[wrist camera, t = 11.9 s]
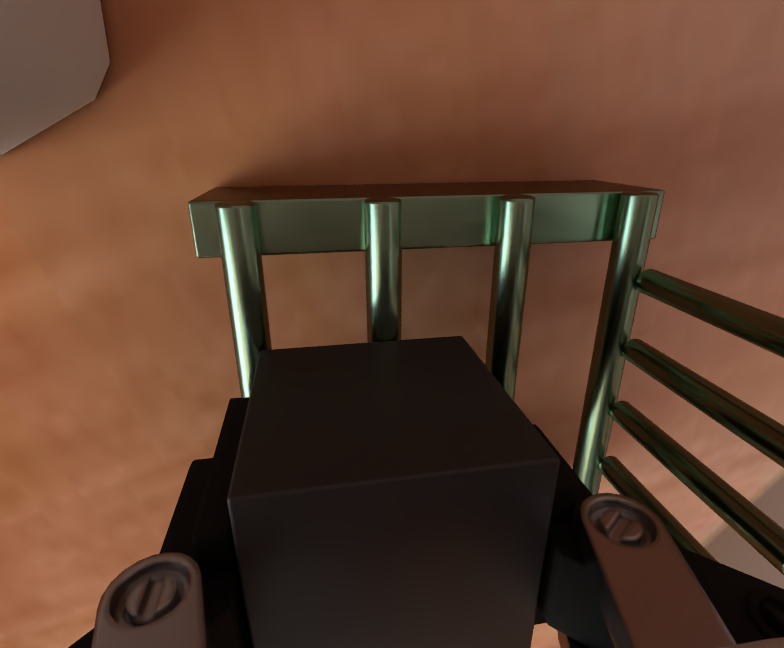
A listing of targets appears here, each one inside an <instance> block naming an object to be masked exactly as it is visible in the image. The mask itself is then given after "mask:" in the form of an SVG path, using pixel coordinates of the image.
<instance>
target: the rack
mask: <svg viewBox="0 0 784 648" xmlns="http://www.w3.org/2000/svg"><path fill="white" fill-rule="evenodd" d="M663 198H664V191H663V190H660V189H653V188H646V187H639V186H632V185H625V184H618V183H611V182H604V181H597V180H573V181H521V182H469V183H416V184H364V185H312V186H260V187H215V188H213V189H211V190H209V191H208V192H206V193H204V194H202V195H200V196H198V197H197V198H195V199H193V200H191V201H189V202H188V207H189V213H190V219H191V226H192V232H193V238H194V244H195V250H196V255H197V257H198V258H211V257H221V259H222V266H223V273H224V280H225V287H226V294H227V301H228V308H229V315H230V321H231V328H232V335H233V342H234V349H235V356H236V363H237V370H238V377H239V384H240V391H241V398H244V397H250V393H251V388H252V384H253V379H254V375H255V370H256V366H257V361H258V356H259V353H260V351H262V350H272V347H271V338H270V329H269V320H268V311H267V302H266V293H265V283H264V274H263V265H262V256H261V255H283V254H306V253H330V252H354V251H365V262H366V302H367V342H368V343H371V342H385V341H398V340H401V296H402V249H426V248H449V247H473V246H495V250H494V262H493V275H492V287H491V300H490V312H489V324H488V337H487V349H486V362H485V366H486V367H487V368H488V369H489V371H490V372H491V373H492V374H493V376H494V377H495V378H496V379H497V381H498V382H499V383H500V384H501V386H502V387H503V388H504V389H505V391H506V392H507V393H508V394H509V396H510V397H511V398H512V399H513V401H514V395H515V386H516V377H517V368H518V358H519V349H520V340H521V331H522V322H523V313H524V304H525V295H526V286H527V276H528V267H529V258H530V249H531V244H545V243H569V242H592V241H612V246H611V252H610V257H609V263H608V269H607V274H606V280H605V286H604V291H603V297H602V303H601V309H600V314H599V320H598V326H597V331H596V337H595V343H594V348H593V354H592V360H591V366H590V371H589V377H588V383H587V388H586V394H585V400H584V405H583V411H582V417H581V423H580V428H579V434H578V440H577V445H576V451H575V457H574V462H573V468H572V470H573V471H574V472H575V473H576V475H577V476H578V477H579V478H580V480H581V481H582V482H583V483H584V485H585V486H586V487H587V488H588V490H589V491H590V492H591V493H592V495H595V494H598V491H599V486H600V481H601V476H602V474H603V475H604V477H605V478H606V479H607V480H608V481H609V482H610V483H611V484H612V486H613V487H614V488H615V489H616V490H617V491H618V492H619V493H620V495H622V496H625V497H628V498H631V499H634V500H636V501H638V502H639V503H641V504H643V505H645V506H646V507H648V508H649V509H650V510H651V511H653V512H654V513H655V514H656V515H657V516H658V517H659V519H660V520H661V521H662V522H663V524H664V525H665V527H666V528H667V530H668V532H669V533H670V535H671V537H672V538H673V540H674V542H675V543H676V545H677V546H679V547H682V548H684V549H687V550H689V551H692V552H694V553H696V554H699V555H701V556H704V557H706V558H709V559H711V560H713V561H716V562H718V561H717V560H715V558H714V557H713V556H712V555H711V554H710V553H709V552H708V551H707V550H706V549H705V548H704V547H703V546H702V545H701V544H700V543H699V542H698V541H697V540H696V539H695V538H694V537H693V536H692V535H691V534H690V533H689V532H688V531H687V530H686V529H685V528H684V527H683V526H682V524H681V523H680V522H679V521H678V520H677V519H676V518H675V517H674V516H673V515H672V514H671V513H670V512H669V511H668V510H667V509H666V508H665V507H664V506H663V505H662V504H661V503H660V502H659V501H658V500H657V499H656V498H655V497H654V496H653V495H652V494H651V493H650V492H649V491H648V490H647V489H646V488H645V486H644V485H643V484H642V483H641V482H640V481H639V480H638V479H637V478H636V477H635V476H634V475H633V474H632V473H631V472H630V471H629V470H628V469H627V468H626V467H625V466H624V465H623V464H622V463H621V462H620V461H619V460H618V459H617V458H616V457H614V456H607V457H606V452H607V447H608V442H609V437H610V433H611V428H612V423H613V420H614V421H616V422H617V423H618V424H619V425H620V426H621V427H622V428H623V429H624V430H625V431H626V432H628V433H629V434H630V435H631V436H632V437H633V438H634V439H635V440H636V441H637V442H639V443H640V444H641V445H642V446H643V447H644V448H645V449H646V450H647V451H648V452H649V453H651V454H652V455H653V456H654V457H655V458H656V459H657V460H658V461H659V462H660V463H662V464H663V465H664V466H665V467H666V468H667V469H668V470H669V471H670V472H671V473H672V474H674V475H675V476H676V477H677V478H678V479H679V480H680V481H681V482H682V483H683V484H685V485H686V486H687V487H688V488H689V489H690V490H691V491H692V492H693V493H694V494H695V495H697V496H698V497H699V498H700V499H701V500H702V501H703V502H704V503H705V504H706V505H708V506H709V507H710V508H711V509H712V510H713V511H714V512H715V513H716V514H717V515H718V516H720V517H721V518H722V519H723V520H724V521H725V522H726V523H727V524H728V525H730V526H731V527H732V528H733V529H734V530H735V531H736V532H737V533H738V534H739V535H740V536H741V537H743V538H744V539H745V540H746V541H747V542H748V543H749V544H750V545H751V546H752V547H754V548H755V549H756V550H757V551H758V552H759V553H760V554H761V555H762V556H763V557H764V558H766V559H767V560H768V561H769V562H770V563H771V564H772V565H773V566H774V567H775V568H777V569H778V570H779V571H780V572H781V573H782V574H783V575H784V529H783V528H781V527H780V526H779V525H778V524H777V523H775V522H774V521H773V520H772V519H770V518H769V517H768V516H767V515H765V514H764V513H763V512H762V511H761V510H759V509H758V508H757V507H756V506H755V505H753V504H752V503H751V502H750V501H748V500H747V499H746V498H745V497H744V496H742V495H741V494H740V493H739V492H737V491H736V490H735V489H734V488H733V487H731V486H730V485H729V484H728V483H726V482H725V481H724V480H723V479H722V478H720V477H719V476H718V475H717V474H715V473H714V472H713V471H712V470H711V469H709V468H708V467H707V466H706V465H704V464H703V463H702V462H701V461H700V460H698V459H697V458H696V457H695V456H693V455H692V454H691V453H690V452H689V451H687V450H686V449H685V448H684V447H682V446H681V445H680V444H679V443H677V442H676V441H675V440H674V439H673V438H671V437H670V436H669V435H668V434H666V433H665V432H664V431H663V430H662V429H660V428H659V427H658V426H657V425H655V424H654V423H653V422H652V421H651V420H649V419H648V418H647V417H646V416H644V415H643V414H642V413H641V412H640V411H638V410H637V409H636V408H635V407H633V406H632V405H631V404H630V403H629V402H627V401H618V402H617V399H618V394H619V389H620V384H621V379H622V374H623V369H624V365H625V360H628V361H629V362H631V363H632V364H634V365H635V366H636V367H638V368H639V369H641V370H642V371H644V372H645V373H647V374H648V375H650V376H651V377H652V378H654V379H655V380H657V381H658V382H660V383H661V384H663V385H664V386H666V387H667V388H668V389H670V390H671V391H673V392H674V393H676V394H677V395H679V396H680V397H681V398H683V399H684V400H686V401H687V402H689V403H690V404H692V405H693V406H695V407H696V408H697V409H699V410H700V411H702V412H703V413H705V414H706V415H708V416H709V417H711V418H712V419H713V420H715V421H716V422H718V423H719V424H721V425H722V426H724V427H725V428H726V429H728V430H729V431H731V432H732V433H734V434H735V435H737V436H738V437H740V438H741V439H742V440H744V441H745V442H747V443H748V444H750V445H751V446H753V447H754V448H755V449H757V450H758V451H760V452H761V453H763V454H764V455H766V456H767V457H769V458H770V459H771V460H773V461H774V462H776V463H777V464H779V465H780V466H782V467H783V468H784V426H783V425H782V424H780V423H778V422H777V421H775V420H773V419H772V418H770V417H768V416H767V415H765V414H763V413H762V412H760V411H758V410H757V409H755V408H753V407H752V406H750V405H748V404H747V403H745V402H743V401H742V400H740V399H738V398H737V397H735V396H733V395H732V394H730V393H728V392H727V391H725V390H723V389H722V388H720V387H718V386H717V385H715V384H713V383H712V382H710V381H708V380H707V379H705V378H704V377H702V376H700V375H699V374H697V373H695V372H694V371H692V370H690V369H689V368H687V367H685V366H684V365H682V364H680V363H679V362H677V361H675V360H674V359H672V358H670V357H669V356H667V355H665V354H664V353H662V352H660V351H659V350H657V349H655V348H654V347H652V346H650V345H649V344H647V343H645V342H644V341H642V340H640V339H631V340H630V335H631V331H632V326H633V321H634V316H635V311H636V306H637V301H638V297H639V292H641V293H643V294H646V295H648V296H650V297H652V298H654V299H656V300H659V301H661V302H663V303H665V304H667V305H669V306H672V307H674V308H676V309H678V310H680V311H683V312H685V313H687V314H689V315H691V316H693V317H696V318H698V319H700V320H702V321H704V322H707V323H709V324H711V325H713V326H715V327H717V328H720V329H722V330H724V331H726V332H728V333H730V334H733V335H735V336H737V337H739V338H741V339H744V340H746V341H748V342H750V343H752V344H754V345H757V346H759V347H761V348H763V349H765V350H768V351H770V352H772V353H774V354H776V355H778V356H781V357H783V358H784V318H782V317H779V316H777V315H774V314H771V313H769V312H766V311H763V310H761V309H758V308H755V307H753V306H750V305H747V304H745V303H742V302H739V301H737V300H734V299H731V298H729V297H726V296H723V295H721V294H718V293H715V292H713V291H710V290H707V289H705V288H702V287H699V286H697V285H694V284H691V283H689V282H686V281H683V280H681V279H678V278H675V277H673V276H670V275H667V274H665V273H662V272H659V271H657V270H654V269H648V270H645V271H644V267H645V263H646V258H647V253H648V248H649V243H650V239H654V238H655V236H656V231H657V226H658V221H659V217H660V212H661V207H662V202H663ZM718 563H719V562H718Z"/></svg>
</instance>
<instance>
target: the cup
mask: <svg viewBox="0 0 784 648" xmlns="http://www.w3.org/2000/svg"><path fill="white" fill-rule="evenodd" d="M109 64H110V58H109V52H108V46H107V40H106V34H105V27H104V21H103V15H102V9H101V3H100V0H0V156H1V155H3V154H4V153H6V152H8V151H9V150H11V149H13V148H15V147H16V146H18V145H20V144H21V143H23V142H25V141H26V140H28V139H30V138H31V137H33V136H35V135H36V134H38V133H40V132H41V131H43V130H45V129H47V128H48V127H50V126H52V125H53V124H55V123H57V122H58V121H60V120H62V119H63V118H65V117H67V116H68V115H70V114H72V113H73V112H75V111H77V110H79V109H80V108H82V107H84V106H85V105H87V104H89V103H90V102H92V101H94V100H95V98H96V96H97V93H98V91H99V89H100V86H101V84H102V81H103V79H104V76H105V74H106V71H107V69H108V66H109Z"/></svg>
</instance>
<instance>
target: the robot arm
mask: <svg viewBox="0 0 784 648" xmlns="http://www.w3.org/2000/svg"><path fill="white" fill-rule="evenodd" d="M248 402H249V397H244V398H232V399H230V401H229V404H228V408H227V411H226V415H225V418H224V422H223V425H222V429H221V432H220V436H219V439H218V443H217V446H216V450H215V453H214V457H213V458H208V459H199V460H194V461H193V462H192V463H191V466H190V468H189V471H188V474H187V477H186V479H185V482H184V485H183V488H182V491H181V494H180V497H179V500H178V502H177V505H176V508H175V511H174V514H173V517H172V520H171V522H170V525H169V528H168V531H167V534H166V537H165V540H164V543H163V545H162V548H161V551H160V554H157V555H152V556H150V557H147V558H145V559H142V560H140V561H138V562H136V563H135V564H133V565H131V566H130V567H128V568H127V569H125V570H124V571H122V572H121V573H120V574H119V575H118V576H117V577H116V578H115V579H114V580H113V581H112V582H111V583H110V584H109V586H108V587H107V589H106V590H105V592H104V593H103V595H102V597H101V600H100V602H99V605H98V608H97V614H96V621H95V627H94V629H92V630H91V631H90V632H88V633H87V634H86V635H84V636H83V637H82V638H80V639H79V640H78V641H76V642H75V643H74V644H72V645H71V646H70V647H68V648H252V643H251V638H250V632H249V626H248V620H247V614H246V608H245V603H244V597H243V591H242V585H241V579H240V573H239V568H238V562H237V556H236V550H235V544H234V538H233V533H232V527H231V521H230V515H229V509H228V503H227V497H228V493H229V488H230V484H231V479H232V474H233V470H234V465H235V461H236V456H237V452H238V447H239V443H240V438H241V434H242V429H243V425H244V420H245V415H246V411H247V406H248ZM533 426H534V427H535V428H536V429H537V431H538V432H539V433H540V434H541V436H542V437H543V438H544V439H545V441H546V442H547V443H548V445H549V446H550V447H551V448H552V450H553V451H554V452H555V453H556V455H557V456H558V457H559V460H560V463H559V470H558V476H557V482H556V489H555V495H554V501H553V508H552V514H551V520H550V527H549V533H548V539H547V546H546V552H545V558H544V565H543V571H542V577H541V584H540V590H539V596H538V603H537V609H536V615H535V622H534V625H536V624H541V623H547V624H548V625H549V626H551V627H553V628H555V629H556V630H558V639H559V643H560V647H561V648H784V589H782V588H779V587H777V586H774V585H772V584H770V583H767V582H765V581H762V580H760V579H757V578H755V577H753V576H750V575H748V574H745V573H743V572H740V571H738V570H735V569H733V568H730V567H728V566H726V565H723V564H720V563H718V562H716V561H713V560H711V559H709V558H706V557H704V556H701V555H699V554H696V553H694V552H692V551H689V550H687V549H684V548H682V547H679V546H677V545H676V543H675V542H674V540H673V538H672V537H671V535H670V533H669V532H668V530H667V528H666V527H665V525H664V524H663V522H662V521H661V520H660V519H659V517H658V516H657V515H656V514H655V513H654V512H653V511H651V510H650V509H649V508H648V507H646V506H645V505H643V504H641V503H639V502H638V501H636V500H634V499H631V498H628V497H625V496H622V495H618V494H612V493H600V494H595V495H592V493H591V492H590V491H589V490H588V488H587V487H586V486H585V485H584V483H583V482H582V481H581V480H580V478H579V477H578V476H577V475H576V473H575V472H574V471H573V470H572V468H571V467H570V466H569V465H568V463H567V462H566V461H565V460H564V458H563V457H562V456H561V455H560V454H559V452H558V451H557V450H556V449H555V447H554V446H553V445H552V444H551V442H550V441H549V440H548V439H547V437H546V436H545V435H544V434H543V432H542V431H541V430H540V429H539V428H538V427H537V426H536V425H534V424H533Z"/></svg>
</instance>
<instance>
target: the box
mask: <svg viewBox="0 0 784 648" xmlns="http://www.w3.org/2000/svg"><path fill="white" fill-rule="evenodd" d="M559 463H560V460H559V457H558V456H557V455H556V453H555V452H554V451H553V450H552V448H551V447H550V446H549V445H548V443H547V442H546V441H545V439H544V438H543V437H542V436H541V434H540V433H539V432H538V431H537V429H536V428H535V427H534V426H533V424H532V423H531V422H530V421H529V419H528V418H527V417H526V416H525V414H524V413H523V412H522V411H521V409H520V408H519V407H518V406H517V404H516V403H515V402H514V401H513V399H512V398H511V397H510V396H509V394H508V393H507V392H506V391H505V389H504V388H503V387H502V386H501V384H500V383H499V382H498V381H497V379H496V378H495V377H494V376H493V374H492V373H491V372H490V371H489V369H488V368H487V367H486V366H485V364H484V363H483V362H482V361H481V359H480V358H479V357H478V356H477V354H476V353H475V352H474V351H473V349H472V348H471V347H470V346H469V344H468V343H467V342H466V341H465V339H464V338H463V337H462V336H453V337H439V338H426V339H412V340H398V341H385V342H371V343H357V344H344V345H330V346H316V347H303V348H289V349H275V350H262V351H260V353H259V356H258V361H257V366H256V370H255V375H254V379H253V384H252V388H251V393H250V397H249V402H248V406H247V411H246V415H245V420H244V425H243V429H242V434H241V438H240V443H239V447H238V452H237V456H236V461H235V465H234V470H233V474H232V479H231V484H230V488H229V493H228V497H227V503H228V509H229V515H230V521H231V527H232V533H233V538H234V544H235V550H236V556H237V562H238V568H239V573H240V579H241V585H242V591H243V597H244V603H245V608H246V614H247V620H248V626H249V632H250V638H251V643H252V648H530V647H531V641H532V634H533V628H534V622H535V615H536V609H537V603H538V596H539V590H540V584H541V577H542V571H543V565H544V558H545V552H546V546H547V539H548V533H549V527H550V520H551V514H552V508H553V501H554V495H555V489H556V482H557V476H558V470H559Z"/></svg>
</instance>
